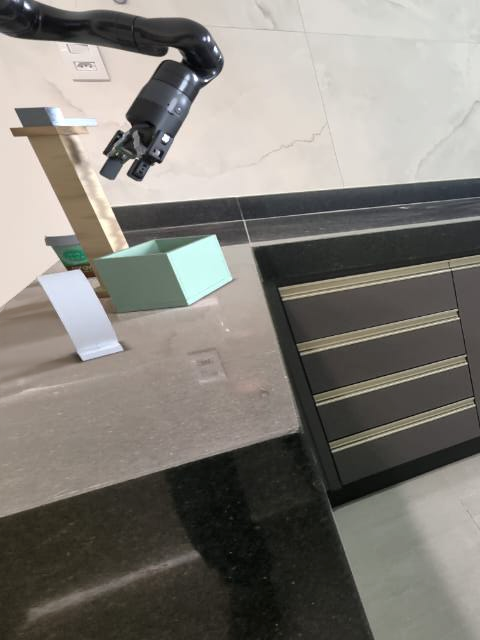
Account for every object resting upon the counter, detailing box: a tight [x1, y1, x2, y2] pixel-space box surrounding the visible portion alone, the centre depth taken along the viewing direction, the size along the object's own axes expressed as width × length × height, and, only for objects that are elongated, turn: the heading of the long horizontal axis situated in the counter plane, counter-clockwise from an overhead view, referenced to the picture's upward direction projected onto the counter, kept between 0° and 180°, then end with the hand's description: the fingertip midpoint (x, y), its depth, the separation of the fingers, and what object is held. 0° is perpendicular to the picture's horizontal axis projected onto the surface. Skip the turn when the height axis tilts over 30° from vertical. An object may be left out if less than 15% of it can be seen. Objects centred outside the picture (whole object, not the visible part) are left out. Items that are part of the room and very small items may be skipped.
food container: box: [44, 234, 96, 279], centre depth 124 cm, size 12×6×10 cm, turn 122°
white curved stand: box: [35, 269, 124, 362], centre depth 77 cm, size 5×6×12 cm
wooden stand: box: [9, 126, 130, 299], centre depth 106 cm, size 9×9×32 cm
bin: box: [92, 233, 233, 314], centre depth 105 cm, size 19×12×10 cm, turn 13°
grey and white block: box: [14, 106, 99, 128], centre depth 103 cm, size 14×5×3 cm, turn 13°
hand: (119, 178), depth 101 cm, fingers open, 8 cm apart
